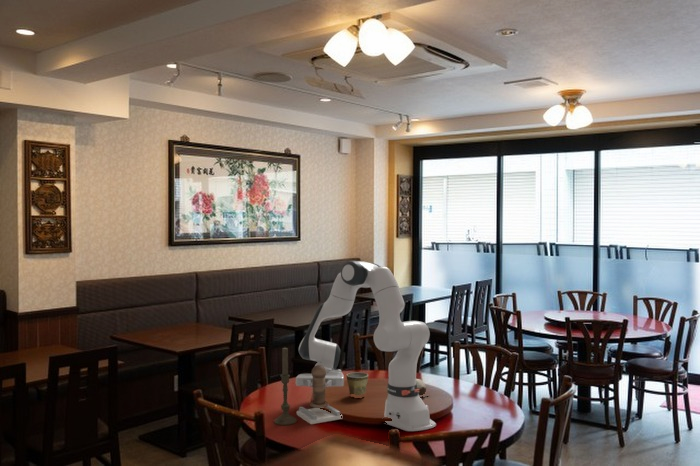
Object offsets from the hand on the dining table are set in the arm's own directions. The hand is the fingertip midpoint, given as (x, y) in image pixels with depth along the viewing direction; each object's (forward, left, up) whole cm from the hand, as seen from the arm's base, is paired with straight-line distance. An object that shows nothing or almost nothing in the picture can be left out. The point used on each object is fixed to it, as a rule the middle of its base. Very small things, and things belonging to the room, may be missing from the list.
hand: (318, 385), depth 246 cm
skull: (+7, -53, -13) cm, 55 cm away
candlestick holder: (+2, +14, -13) cm, 19 cm away
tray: (+1, 0, -13) cm, 13 cm away
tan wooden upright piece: (+1, 0, -8) cm, 9 cm away
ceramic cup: (+20, -29, -13) cm, 38 cm away
